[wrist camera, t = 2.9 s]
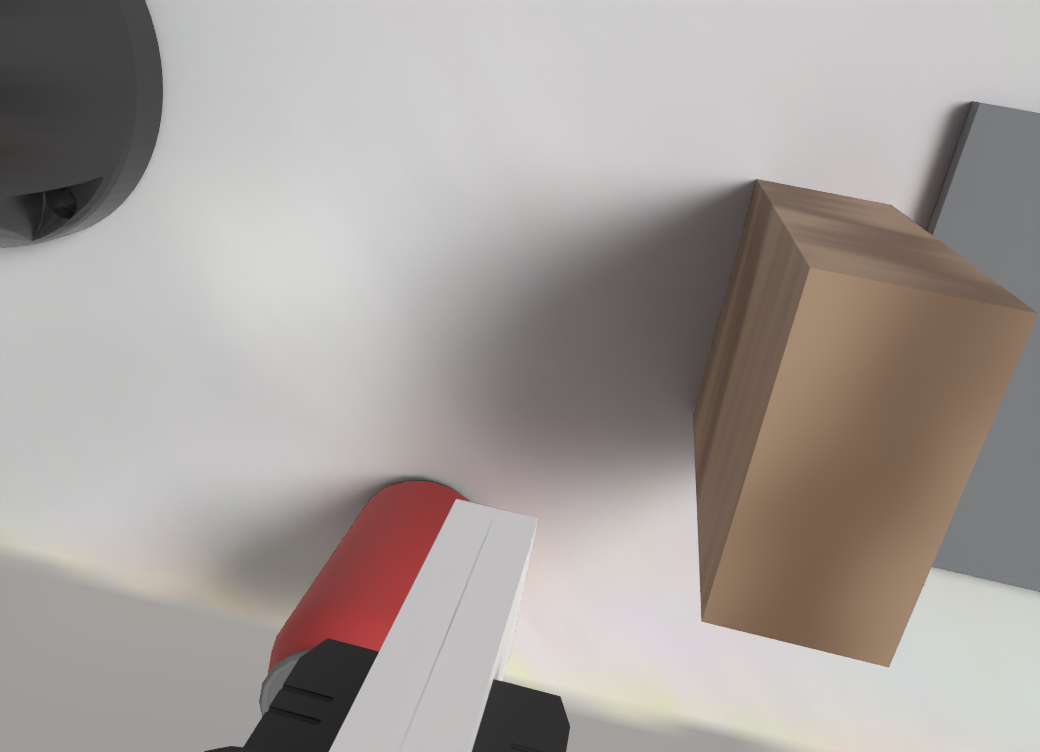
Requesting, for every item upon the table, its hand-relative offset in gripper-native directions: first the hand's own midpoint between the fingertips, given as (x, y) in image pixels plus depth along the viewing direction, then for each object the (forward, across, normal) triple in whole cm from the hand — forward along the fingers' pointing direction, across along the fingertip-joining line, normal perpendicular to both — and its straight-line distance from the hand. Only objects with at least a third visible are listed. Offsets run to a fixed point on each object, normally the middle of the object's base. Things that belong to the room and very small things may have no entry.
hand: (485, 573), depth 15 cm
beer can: (+21, -5, -14) cm, 26 cm away
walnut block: (+21, +8, 0) cm, 22 cm away
